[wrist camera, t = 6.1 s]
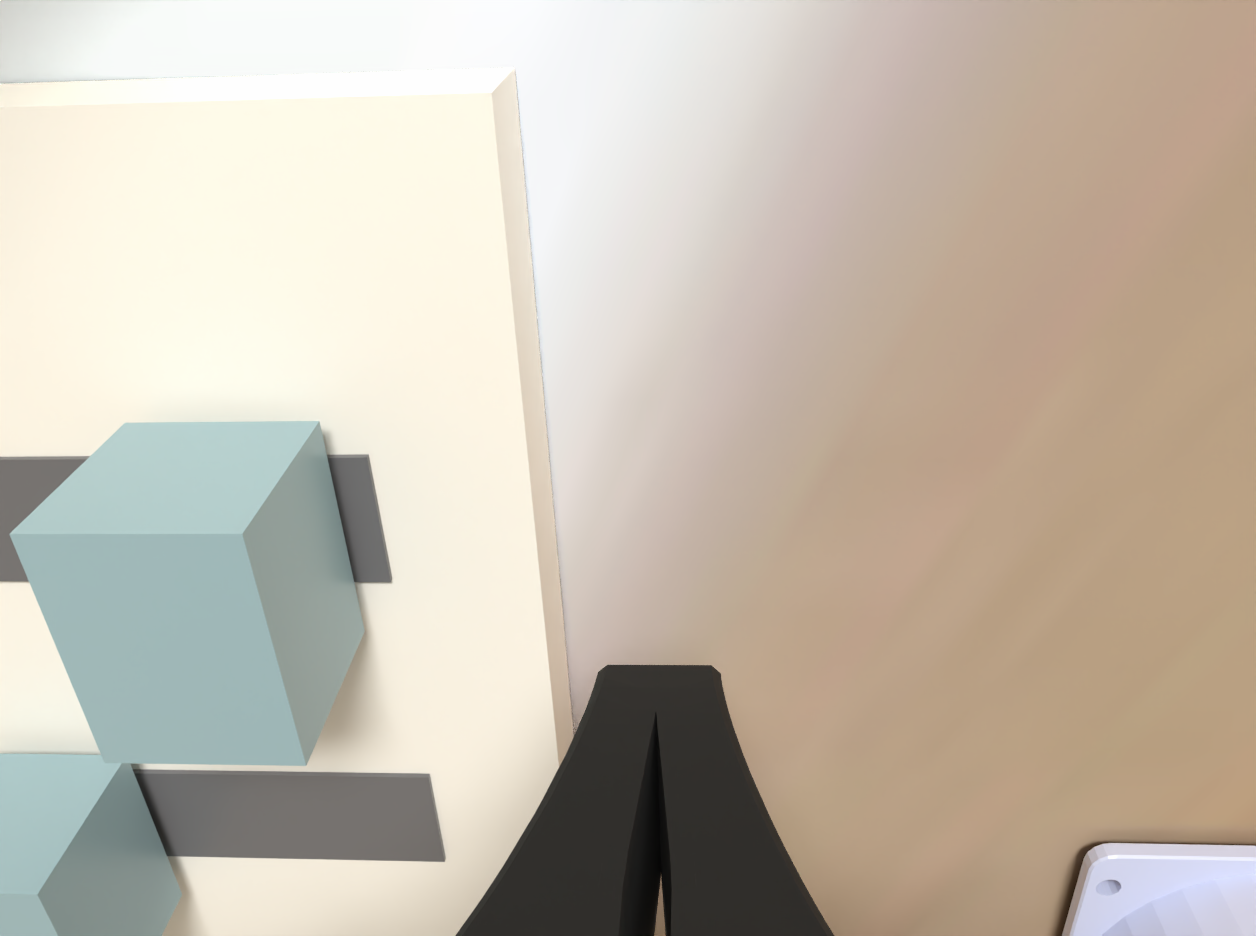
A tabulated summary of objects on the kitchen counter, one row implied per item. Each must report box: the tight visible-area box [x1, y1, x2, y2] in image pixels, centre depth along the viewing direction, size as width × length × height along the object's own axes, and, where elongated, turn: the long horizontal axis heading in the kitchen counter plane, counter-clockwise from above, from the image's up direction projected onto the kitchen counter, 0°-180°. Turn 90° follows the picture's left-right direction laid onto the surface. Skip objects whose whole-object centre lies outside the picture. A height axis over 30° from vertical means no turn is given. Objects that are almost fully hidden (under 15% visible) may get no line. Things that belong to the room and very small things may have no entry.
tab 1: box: [0, 753, 182, 936], centre depth 19 cm, size 4×3×3 cm
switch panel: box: [0, 67, 574, 936], centre depth 19 cm, size 20×14×2 cm
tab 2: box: [9, 421, 365, 766], centre depth 15 cm, size 4×3×3 cm
